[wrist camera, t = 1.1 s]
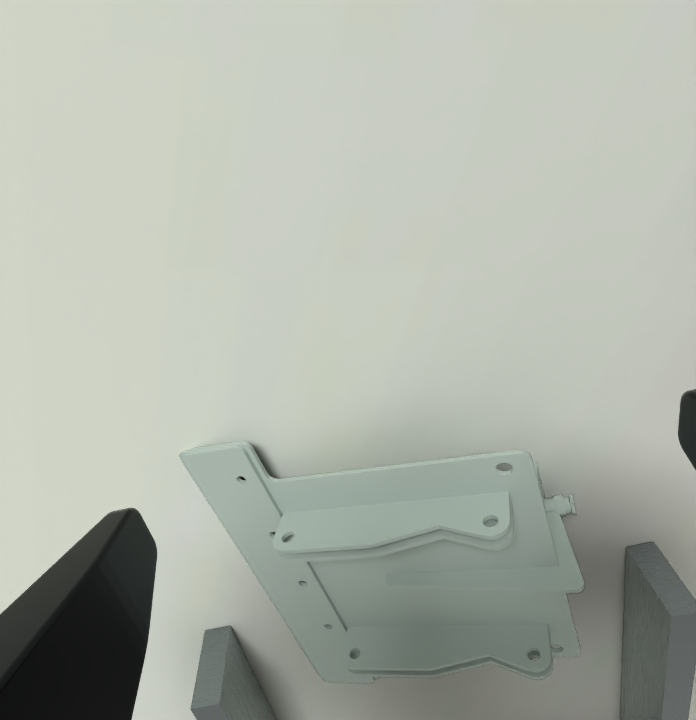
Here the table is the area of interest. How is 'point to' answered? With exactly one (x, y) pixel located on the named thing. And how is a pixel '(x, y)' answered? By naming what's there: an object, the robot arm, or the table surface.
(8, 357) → the table surface
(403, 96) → the table surface
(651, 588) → the rail dock
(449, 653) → the metal bracket
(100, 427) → the table surface
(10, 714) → the robot arm
